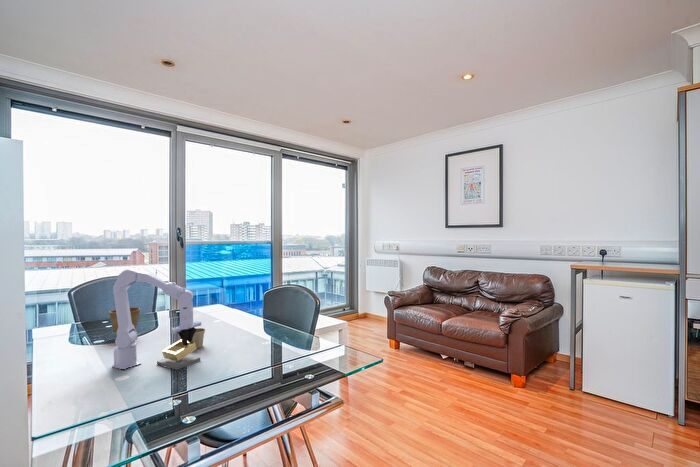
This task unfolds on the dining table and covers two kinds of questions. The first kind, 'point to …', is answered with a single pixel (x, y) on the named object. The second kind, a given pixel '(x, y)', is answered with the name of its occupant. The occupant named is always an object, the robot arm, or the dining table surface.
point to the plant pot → (134, 318)
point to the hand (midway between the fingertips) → (187, 344)
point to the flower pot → (198, 337)
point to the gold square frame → (173, 355)
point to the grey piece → (179, 362)
